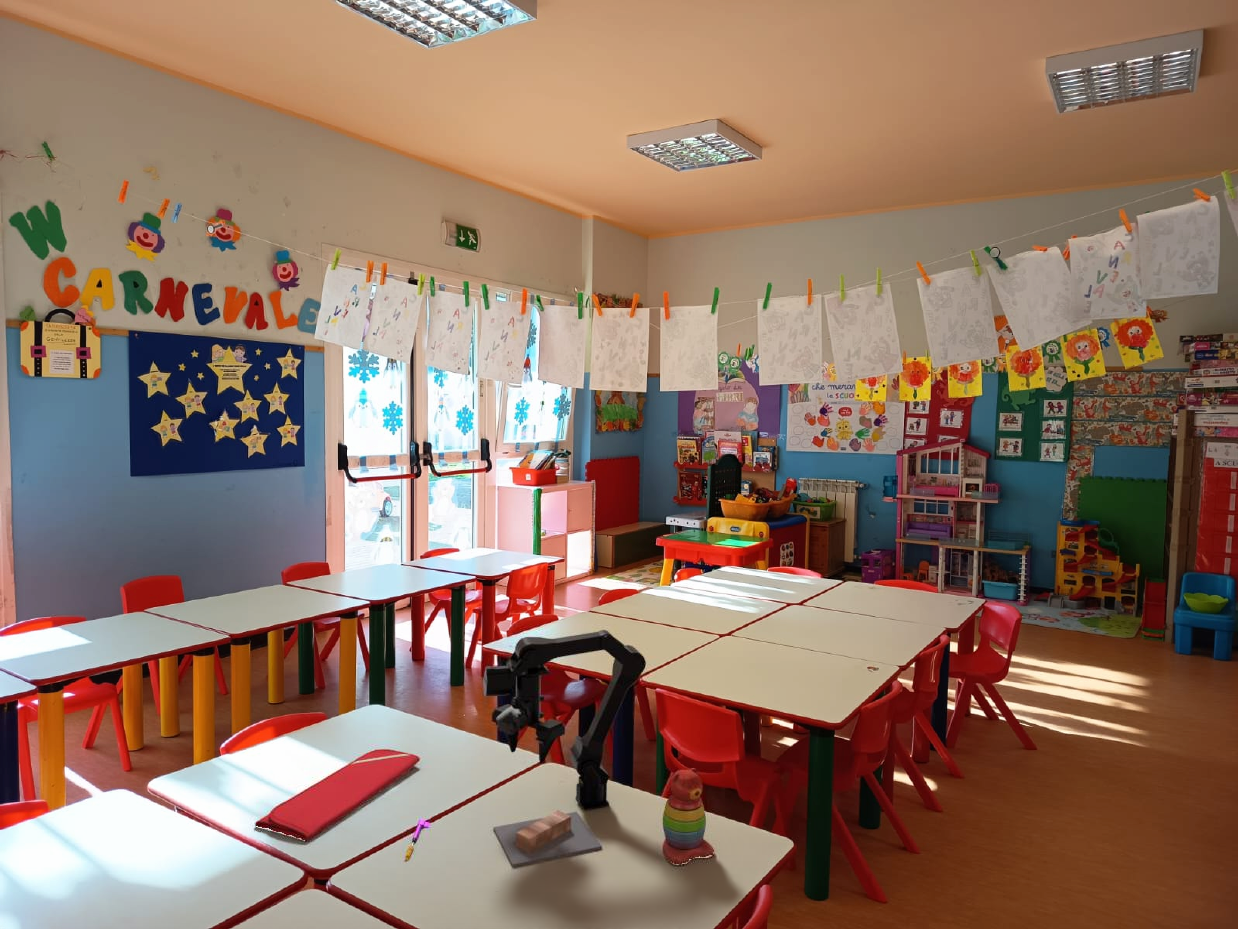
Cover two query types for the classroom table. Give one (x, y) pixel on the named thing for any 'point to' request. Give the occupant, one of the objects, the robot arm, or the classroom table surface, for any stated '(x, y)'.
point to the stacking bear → (685, 819)
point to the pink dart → (416, 836)
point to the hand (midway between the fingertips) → (527, 757)
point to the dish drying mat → (338, 794)
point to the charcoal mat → (561, 846)
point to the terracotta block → (543, 831)
